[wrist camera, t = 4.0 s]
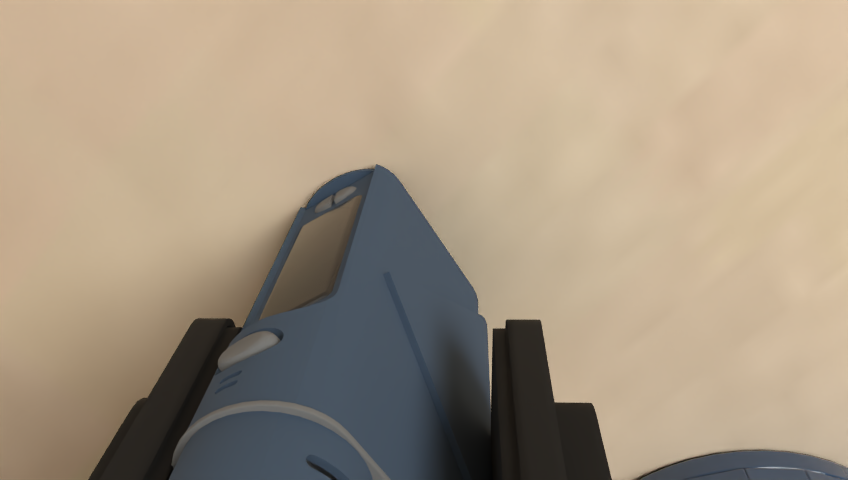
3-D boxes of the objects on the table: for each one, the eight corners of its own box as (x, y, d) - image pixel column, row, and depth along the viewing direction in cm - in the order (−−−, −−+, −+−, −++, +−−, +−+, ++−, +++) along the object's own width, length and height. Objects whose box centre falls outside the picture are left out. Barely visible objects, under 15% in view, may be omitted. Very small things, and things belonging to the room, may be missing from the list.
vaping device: (377, 135, 13) (65, 1093, 3) (504, 323, 15) (583, 1285, 5) (275, 194, 14) (-260, 1122, 4) (408, 366, 16) (304, 1277, 6)
